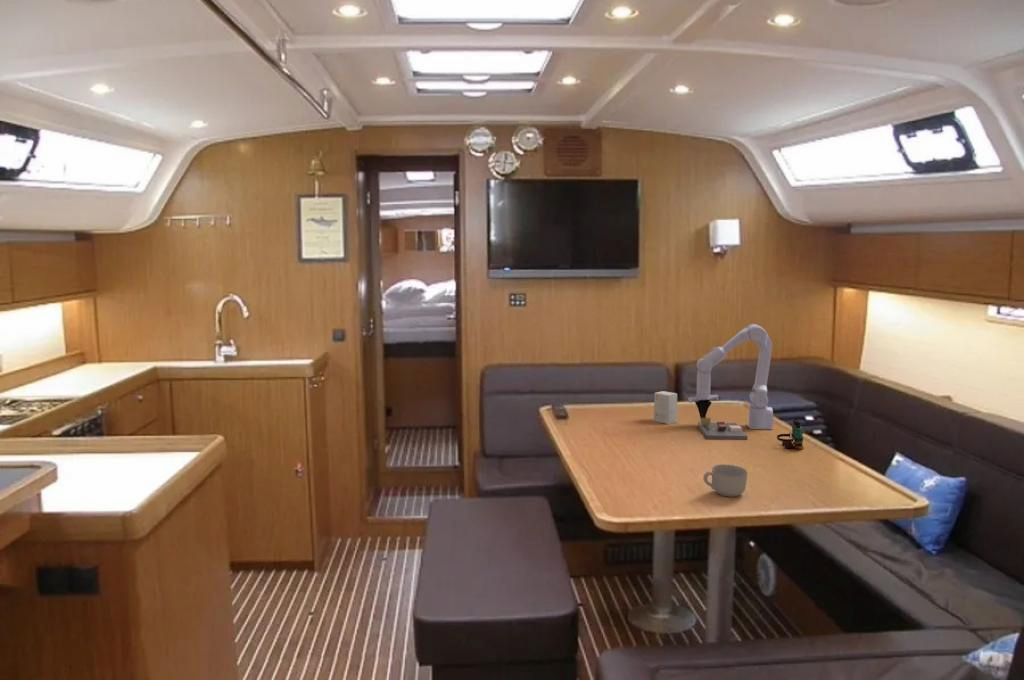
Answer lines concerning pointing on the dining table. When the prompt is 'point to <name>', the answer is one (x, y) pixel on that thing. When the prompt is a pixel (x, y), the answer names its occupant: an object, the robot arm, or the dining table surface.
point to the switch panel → (721, 432)
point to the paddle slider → (704, 420)
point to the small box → (665, 407)
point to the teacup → (727, 479)
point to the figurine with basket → (793, 436)
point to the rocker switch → (721, 425)
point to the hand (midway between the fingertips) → (702, 417)
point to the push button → (735, 428)
